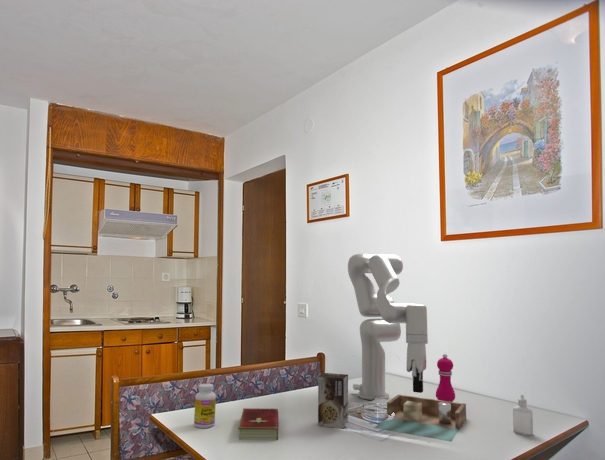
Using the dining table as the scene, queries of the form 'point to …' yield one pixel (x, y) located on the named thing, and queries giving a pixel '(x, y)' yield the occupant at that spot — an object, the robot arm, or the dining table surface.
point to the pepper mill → (445, 380)
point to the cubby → (424, 418)
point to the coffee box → (332, 400)
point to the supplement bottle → (205, 406)
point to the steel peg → (444, 412)
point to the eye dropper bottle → (522, 418)
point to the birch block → (412, 411)
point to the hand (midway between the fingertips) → (418, 391)
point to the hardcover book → (258, 424)
